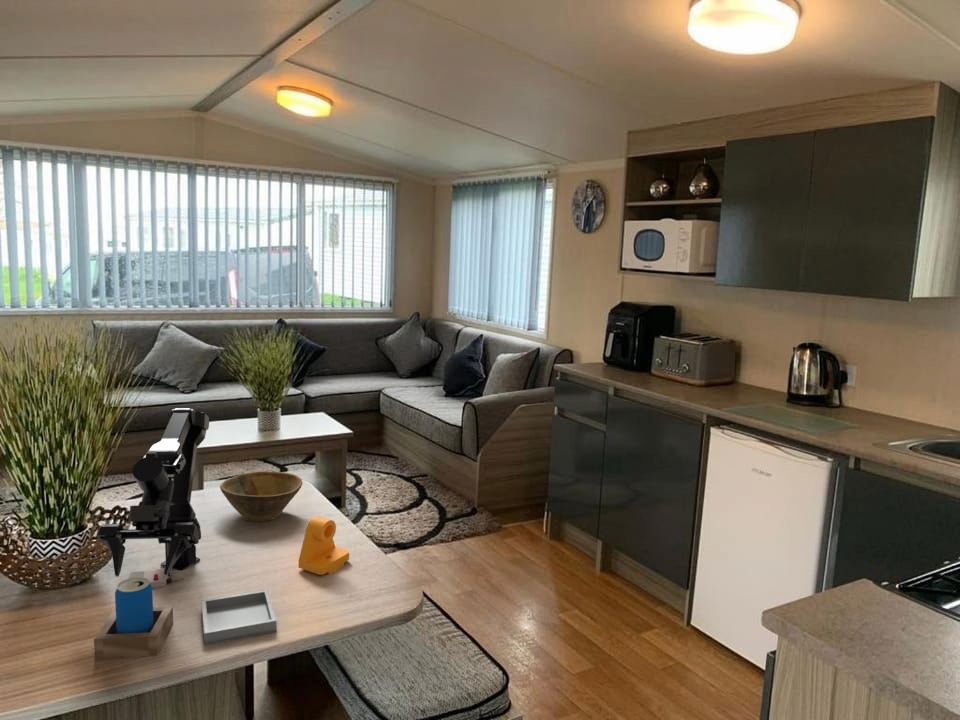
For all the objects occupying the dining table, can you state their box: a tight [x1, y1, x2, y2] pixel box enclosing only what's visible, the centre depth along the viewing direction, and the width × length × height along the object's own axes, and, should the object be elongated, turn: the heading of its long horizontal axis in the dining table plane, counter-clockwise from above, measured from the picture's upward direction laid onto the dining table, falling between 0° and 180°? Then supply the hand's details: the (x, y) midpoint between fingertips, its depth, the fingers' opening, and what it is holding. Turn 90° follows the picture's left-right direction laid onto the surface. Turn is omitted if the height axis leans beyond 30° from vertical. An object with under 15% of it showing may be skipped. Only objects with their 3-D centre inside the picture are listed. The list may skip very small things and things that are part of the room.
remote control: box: [115, 568, 185, 591], centre depth 159 cm, size 7×16×3 cm, turn 109°
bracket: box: [298, 515, 350, 575], centre depth 169 cm, size 11×7×12 cm, turn 151°
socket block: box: [93, 605, 174, 660], centre depth 135 cm, size 11×11×4 cm
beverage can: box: [114, 577, 154, 634], centre depth 135 cm, size 6×6×12 cm
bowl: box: [219, 470, 303, 523], centre depth 199 cm, size 22×23×10 cm
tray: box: [200, 589, 277, 646], centre depth 144 cm, size 14×14×2 cm
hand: (141, 575), depth 138 cm, fingers open, 9 cm apart
